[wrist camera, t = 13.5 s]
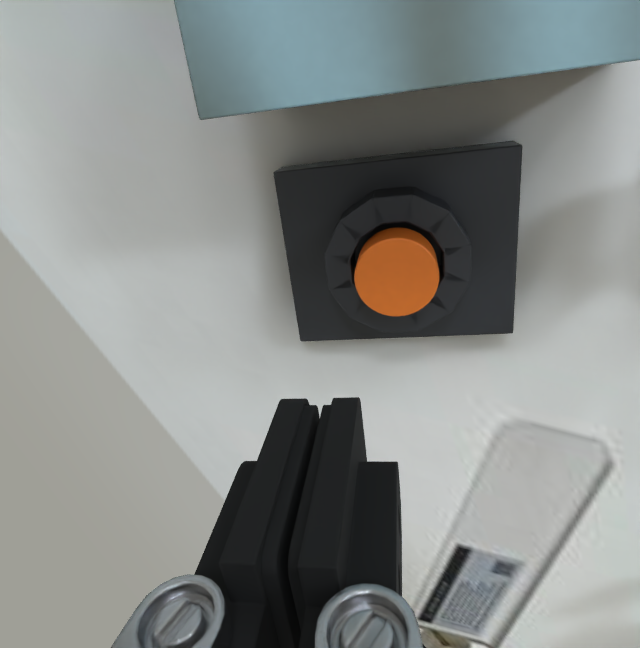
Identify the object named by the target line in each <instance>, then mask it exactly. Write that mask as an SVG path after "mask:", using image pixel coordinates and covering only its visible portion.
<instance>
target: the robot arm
mask: <svg viewBox="0 0 640 648" xmlns="http://www.w3.org/2000/svg"><path fill="white" fill-rule="evenodd" d="M111 648H426V647H425V646H424V645H423V644H422V640H421V634H420V629H419V625H418V622H417V619H416V617H415V614H414V611H413V610H412V608H411V607H410V606H409V604H408V603H407V602H406V600H405V599H404V598H403V597H402V531H401V500H400V484H399V470H398V462H367V457H366V448H365V439H364V429H363V420H362V411H361V402H360V398H333V400H332V404H331V405H324V406H323V408H322V412H321V416H320V418H319V412H318V408H317V406H316V405H309V402H308V400H307V399H281V400H280V402H279V404H278V407H277V409H276V412H275V415H274V417H273V420H272V423H271V425H270V428H269V431H268V433H267V436H266V439H265V441H264V444H263V446H262V449H261V452H260V454H259V457H258V460H257V461H244V462H243V463H242V464H241V466H240V467H239V469H238V471H237V474H236V476H235V479H234V481H233V483H232V486H231V488H230V491H229V493H228V495H227V498H226V500H225V503H224V505H223V508H222V510H221V512H220V515H219V517H218V519H217V522H216V524H215V527H214V529H213V532H212V534H211V536H210V539H209V541H208V543H207V546H206V548H205V551H204V553H203V555H202V558H201V560H200V562H199V565H198V567H197V570H196V572H195V574H194V575H183V576H179V577H175V578H172V579H170V580H169V581H166V582H164V583H162V584H161V585H159V586H158V587H157V588H155V589H154V590H153V591H152V592H150V593H149V594H148V595H147V596H146V597H145V598H144V599H143V601H142V602H141V603H140V604H139V606H138V607H137V608H136V610H135V611H134V613H133V614H132V616H131V617H130V619H129V620H128V622H127V624H126V625H125V626H124V628H123V629H122V631H121V633H120V634H119V636H118V637H117V639H116V640H115V642H114V643H113V645H112V647H111Z"/></svg>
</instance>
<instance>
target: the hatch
mask: <svg viewBox="0 0 640 648" xmlns="http://www.w3.org/2000/svg"><path fill="white" fill-rule="evenodd" d="M174 3H175V8H176V12H177V17H178V22H179V26H180V31H181V36H182V40H183V45H184V50H185V54H186V59H187V64H188V68H189V73H190V78H191V82H192V87H193V92H194V96H195V101H196V106H197V110H198V115H199V119H200V120H205V119H212V118H220V117H227V116H234V115H242V114H249V113H256V112H264V111H271V110H278V109H286V108H293V107H300V106H308V105H315V104H322V103H329V102H337V101H344V100H351V99H359V98H366V97H373V96H381V95H388V94H395V93H403V92H410V91H417V90H425V89H432V88H439V87H446V86H454V85H461V84H468V83H476V82H483V81H490V80H498V79H505V78H512V77H520V76H527V75H534V74H542V73H549V72H556V71H563V70H571V69H578V68H585V67H593V66H600V65H607V64H615V63H622V62H629V61H637V60H640V0H174Z"/></svg>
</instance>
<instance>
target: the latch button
mask: <svg viewBox="0 0 640 648" xmlns="http://www.w3.org/2000/svg"><path fill="white" fill-rule="evenodd" d="M354 281H355V287H356V290H357V292H358V294H359V296H360V298H361V299H362V301H363V302H364V303H365V304H366V305H367V306H368V307H370V308H371V309H372V310H374V311H376V312H378V313H380V314H383V315H387V316H405V315H410V314H412V313H415V312H417V311H419V310H420V309H422V308H423V307H425V306H426V305H427V304H428V303H429V302H430V301H431V299H432V298H433V297H434V295H435V293H436V291H437V288H438V284H439V268H438V263H437V257H436V253H435V251H434V249H433V247H432V245H431V244H430V242H429V241H428V240H427V239H426V238H425V237H424V236H422V235H421V234H420V233H418V232H416V231H414V230H411V229H407V228H401V227H395V228H388V229H385V230H382V231H380V232H378V233H376V234H374V235H373V236H372V237H371V238H369V239H368V240H367V242H366V243H365V244H364V245H363V247H362V249H361V251H360V254H359V257H358V261H357V264H356V268H355V274H354Z"/></svg>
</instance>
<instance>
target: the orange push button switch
mask: <svg viewBox="0 0 640 648" xmlns="http://www.w3.org/2000/svg"><path fill="white" fill-rule="evenodd" d="M521 161H522V145H521V144H519V143H517V142H515V141H508V142H499V143H490V144H482V145H473V146H464V147H455V148H446V149H437V150H428V151H419V152H410V153H401V154H392V155H384V156H375V157H366V158H357V159H348V160H339V161H330V162H321V163H312V164H303V165H294V166H286V167H281V168H280V169H278V170H277V171H275V172H274V179H275V185H276V192H277V198H278V204H279V210H280V216H281V223H282V229H283V235H284V241H285V248H286V254H287V260H288V266H289V272H290V279H291V285H292V291H293V297H294V303H295V310H296V316H297V322H298V328H299V334H300V340H301V341H323V340H349V339H375V338H402V337H428V336H454V335H480V334H507V333H513V323H514V302H515V282H516V262H517V242H518V221H519V201H520V181H521ZM395 227H401V228H407V229H411V230H414V231H416V232H418V233H420V234H421V235H422V236H424V237H425V238H426V239H427V240H428V241H429V242H430V244H431V245H432V247H433V249H434V251H435V253H436V257H437V263H438V268H439V284H438V288H437V291H436V293H435V295H434V297H433V298H432V299H431V301H430V302H429V303H428V304H427V305H426V306H425V307H423V308H422V309H420V310H419V311H417V312H415V313H412V314H410V315H405V316H387V315H383V314H380V313H378V312H376V311H374V310H372V309H371V308H370V307H368V306H367V305H366V304H365V303H364V302H363V301H362V299H361V298H360V296H359V294H358V292H357V290H356V287H355V281H354V274H355V268H356V264H357V261H358V257H359V254H360V251H361V249H362V247H363V245H364V244H365V243H366V242H367V240H368V239H369V238H371V237H372V236H373V235H374V234H376V233H378V232H380V231H382V230H385V229H388V228H395Z"/></svg>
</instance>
